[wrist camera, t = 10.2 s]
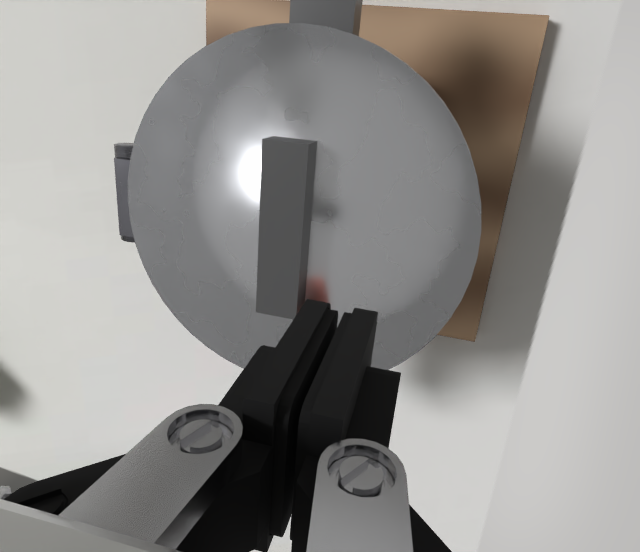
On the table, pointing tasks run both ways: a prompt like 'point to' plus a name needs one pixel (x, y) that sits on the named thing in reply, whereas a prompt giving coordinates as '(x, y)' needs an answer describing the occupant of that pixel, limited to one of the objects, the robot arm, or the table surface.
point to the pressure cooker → (438, 88)
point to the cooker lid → (300, 191)
